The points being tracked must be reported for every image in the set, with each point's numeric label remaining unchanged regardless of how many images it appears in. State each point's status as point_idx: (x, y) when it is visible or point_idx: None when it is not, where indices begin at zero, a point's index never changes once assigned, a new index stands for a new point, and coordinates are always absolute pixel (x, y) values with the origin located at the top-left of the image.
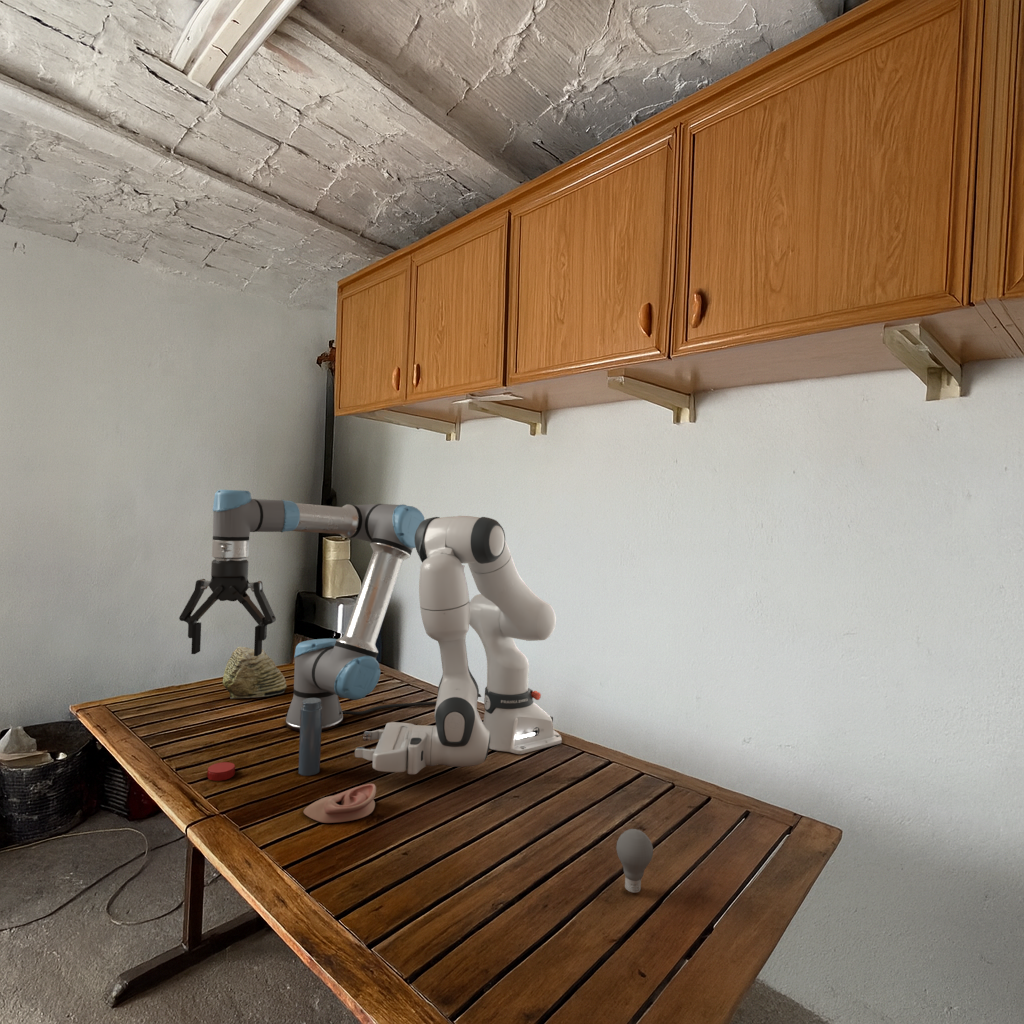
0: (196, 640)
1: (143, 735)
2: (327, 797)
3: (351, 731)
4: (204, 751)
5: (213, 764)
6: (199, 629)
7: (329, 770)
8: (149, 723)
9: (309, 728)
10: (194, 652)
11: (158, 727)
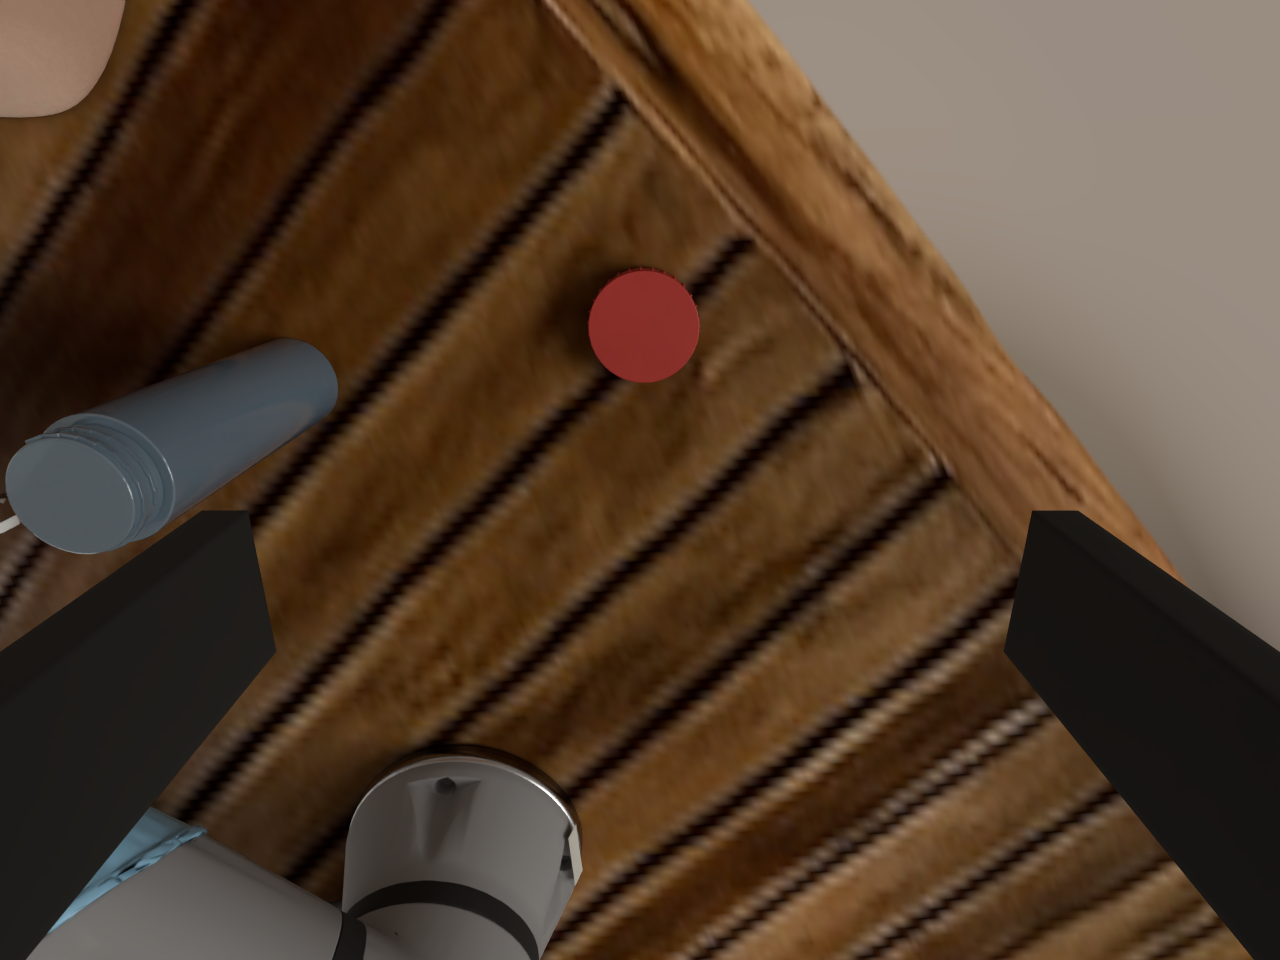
0: (1135, 637)
1: None
2: (30, 25)
3: (288, 765)
4: (802, 550)
5: (689, 354)
6: (1232, 855)
7: None
8: (1115, 791)
9: (151, 386)
10: (1049, 520)
11: (1067, 757)
